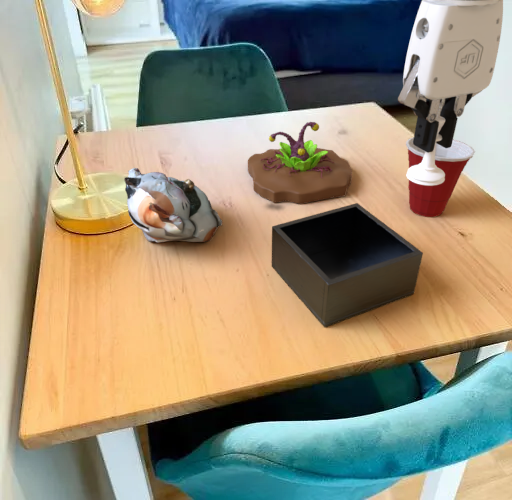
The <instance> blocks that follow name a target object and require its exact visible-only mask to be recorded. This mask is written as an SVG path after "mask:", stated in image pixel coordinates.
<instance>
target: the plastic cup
mask: <svg viewBox="0 0 512 500" xmlns="http://www.w3.org/2000/svg"><path fill="white" fill-rule="evenodd" d="M413 139H414V136H413V137H409V138H408V139H407V140H406V141H405V146H406V148H407V156H408V158H407V160H408V169H409V168H410V167H411V166H414V165H419V163H421V162H422V160H423V157H424V154H425V151H424V150H422V149H420V148H418V147H417V146H415V145H414V144H413ZM475 153H476V151H475V149H474V148H473V146H471V145H469V144H467V143H466V142H463V141H460V140H457V139H455V138H453V141H452V146H451V147H450V148H444V147H442V146H441V145H439V144H437V143H436V151H435V165H436V166H437V167H438V168H440V169H441V170H443V171H444V173H445V180H444V182H443V183H441V184H439V185H434V186H426V185H420V184H417V183H414V182H412V181H410V180H409V179H408V204H409V209H410V210H411V212H413V213H414V214H416V215H418V216H422V217H424V218H425V217H427V218H430V217H431V218H434V217H439V216H440V215H442V214H443V212H444V211H445V209H446V207H447V204H448V202H449V200H450V199H451V197H452V194H453V193H454V190H455V188H456V186H457V183H458V182H459V179H460V177H461V175H462V172H463V171H464V170H465V167H466V166H467V164H468V162H469V161H470V160H471V159H472V158H473V157H474V155H475Z"/></svg>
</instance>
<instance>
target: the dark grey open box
mask: <svg viewBox="0 0 512 500" xmlns="http://www.w3.org/2000/svg"><path fill="white" fill-rule="evenodd" d="M423 255H424V252H423V251H421V250H420V249H419V248H418V247H416V246H415V245H414V244H412V243H411V242H410V241H408V240H407V239H406V238H404V237H403V236H402V235H400V234H399V233H398V232H396V231H395V230H393V229H392V228H391V227H390V226H388V225H387V224H385V223H384V222H383V221H382V220H381V219H380V218H378V217H377V216H376V215H373V213H371V212H370V211H368V210H367V209H366V208H364V207H363V206H362V205H360V203H358V202H356V203H351V204H349V205H345V206H340V207H337V208H334V209H329V210H327V211H322V212H320V213H316V214H312V215H307V216H305V217H301V218H297V219H294V220H290V221H286V222H283V223H280V224H279V223H278V224H276V225H272V226H271V268H272V269H273V270H274V271H275V272H276V274H278V276H279V277H280V278H281V279H282V281H283V282H284V283H285V284H286V285H287V286H288V288H289V289H290V290H291V291H292V292H293V293H294V294H295V295H296V296H297V298H298V299H299V300H300V301H301V302H302V303H303V305H304V306H305V307H306V308H307V309H308V310H309V312H310V313H311V314H312V315H313V316H314V317H315V318H316V319H317V321H318V322H319V323H320V324H321V326H322V327H323V328H328V327H329V326H333V325H335V324H338V323H341V322H344V321H346V320H348V319H352V318H354V317H357V316H359V315H362V314H365V313H368V312H370V311H374V310H376V309H379V308H381V307H383V306H386V305H389V304H392V303H394V302H398V301H400V300H403V299H406V298H407V297H411V296H413V295H415V290H416V286H417V281H418V277H419V273H420V269H421V265H422V260H423Z"/></svg>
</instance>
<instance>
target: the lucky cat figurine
mask: <svg viewBox="0 0 512 500" xmlns="http://www.w3.org/2000/svg"><path fill="white" fill-rule="evenodd" d="M127 172H128V176H126V177H124V180H123V181H124V182H125V188H124V190H125V193H126V196H127V200H126V204H127V209H128V210H127V213H128V216H129V218H130V220H131V222H132V224H133V225H134V226H136V227H137V228H138V229H139V230H140V231H142V233H143V235H144V238H145V239H146V240H147V241H148V242H149V243H151V242H155V243H158V244H159V243H164V242H176V241H180V242H192V243H203V242H204V243H208V242H210V241H211V240H212V238H213V237H214V235H215V233H216V231H217V229H218V228H220V227H221V226H223V220H222V218H220V215H219V213H218V211H217V210H216V209H214V208H212V203H211V201H210V199H209V198H208V197H209V196H208V195H207V194H206V193H205V192H204V191H203V190H202V189H201V188H199V186H197V185H195V182H194V181H193V180H191V179H190V178H186V179H185V180H180V179H177V178H176V177H173V176H167V175H166V174H165V173H163V172H161V171H160V172H159V171H152V172H148V173H142V172H141V171H140V169H139V168H138V167H133V168H131V169H129V170H127Z"/></svg>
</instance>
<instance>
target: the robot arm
mask: <svg viewBox="0 0 512 500" xmlns="http://www.w3.org/2000/svg"><path fill="white" fill-rule="evenodd" d="M503 16H504V0H421V1H420V5H419V8H418V9H417V14H416V16H415V20H414V24H413V27H412V30H411V33H410V39H409V43H408V47H407V52H406V56H405V63H404V67H403V74H402V75H403V76H402V77H403V78H402V85H403V86H402V89H401V91H400V93H399V95H398V97H397V101H398V103H400V104H402V105H404V106H407V107H409V108H411V110H412V111H413V115H414V116H416V124H415V129H414V135H413V137H414V139H413V144H414V145H415V146H417V147H418V148H420V149H422V150H424V151H426V152H428V153H429V152H432V151H433V150H434V146H435V141H436V136H437V131H438V127H439V122H438V121H436V120H435V119H436V117H437V113H438V108H439V104H440V103H442V110H441V112H440V116H441V117H443V118H445V123H444V125H443V126H442V128H441V130H440V131H439V133H438V134H440V135H441V136H442V140H440V141H436V143H437V144H439V145H441V146H442V147H444V148H450V147H451V146H452V141H453V139H454V136H455V132H456V128H457V124H458V119H459V118H460V117H461V116H462V115H463V114H464V111H465V107H466V105H468V103H469V102H470V101H471V100H472V98H474V97H475V96H476V95H478V94H479V93H481V92H483V90H485V89H487V88H488V87H489V86H490V85H491V82H492V79H493V75H494V71H495V67H496V63H497V58H498V53H499V47H500V41H501V36H502V35H501V34H502V26H503V19H504V17H503ZM427 100H428V103H427Z"/></svg>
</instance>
